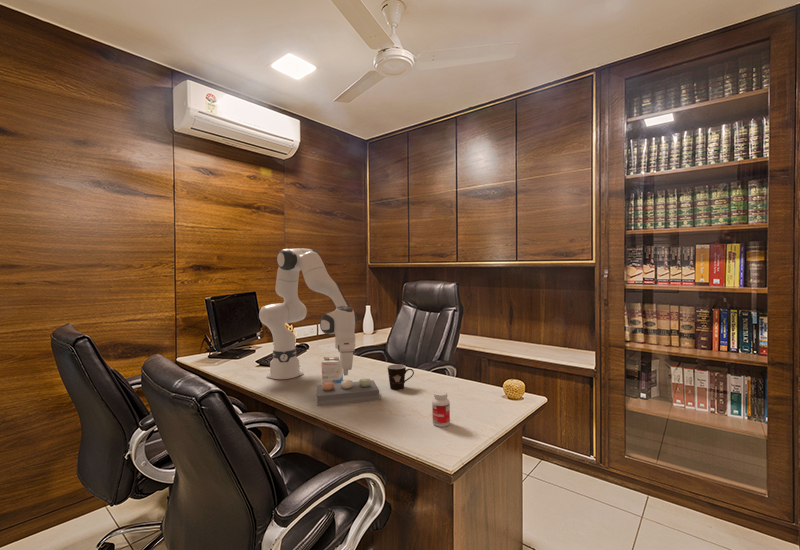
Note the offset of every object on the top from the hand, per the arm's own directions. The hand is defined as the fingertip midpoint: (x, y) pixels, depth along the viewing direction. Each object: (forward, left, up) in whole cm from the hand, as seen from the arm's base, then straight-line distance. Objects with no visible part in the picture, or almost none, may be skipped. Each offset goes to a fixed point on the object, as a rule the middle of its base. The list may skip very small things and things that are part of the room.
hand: (345, 374), depth 164 cm
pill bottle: (+40, +30, -10) cm, 51 cm away
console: (+1, 0, -10) cm, 10 cm away
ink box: (-21, -5, -10) cm, 24 cm away
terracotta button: (+1, -8, -7) cm, 11 cm away
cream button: (+1, 0, -7) cm, 7 cm away
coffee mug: (-3, +25, -10) cm, 27 cm away
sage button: (+1, +8, -7) cm, 11 cm away
